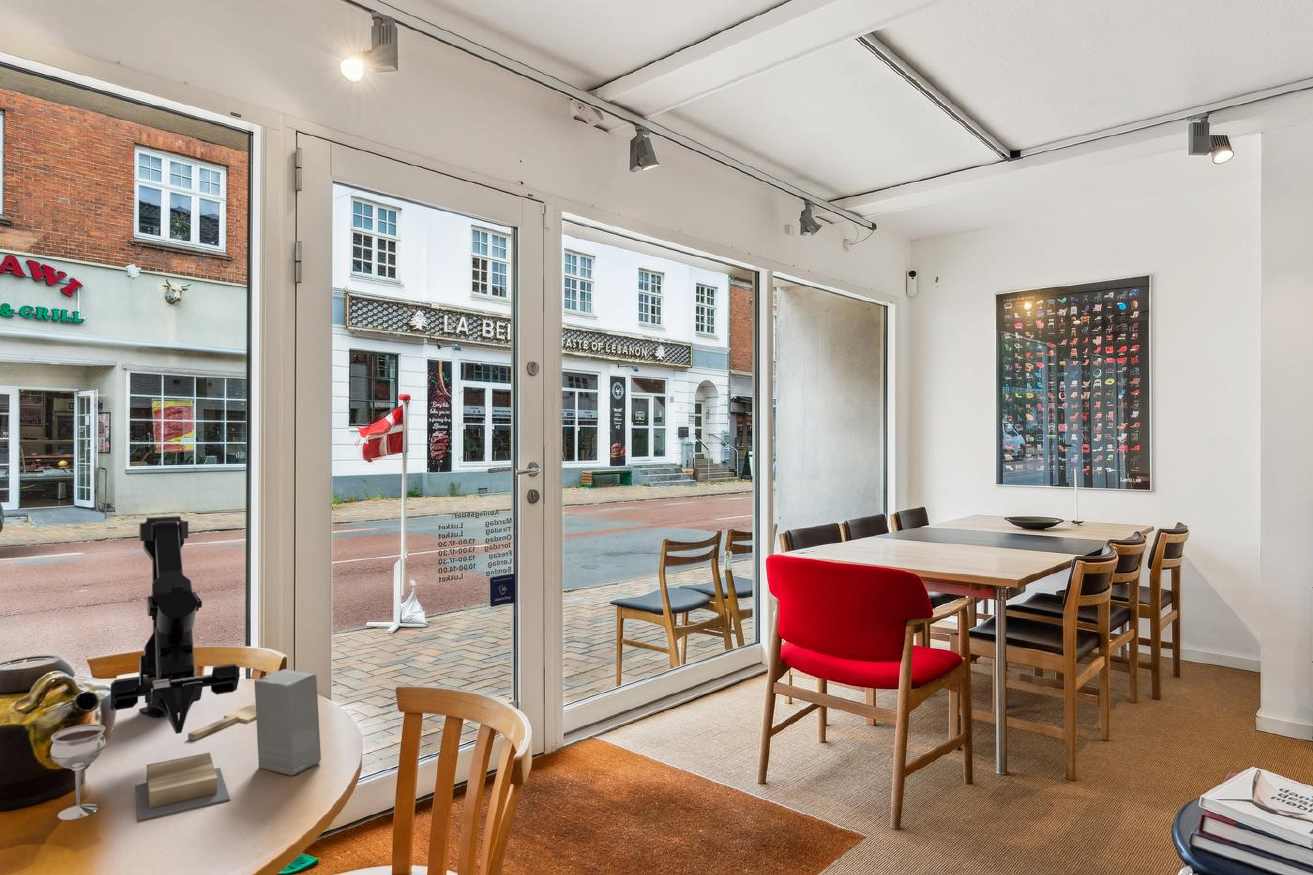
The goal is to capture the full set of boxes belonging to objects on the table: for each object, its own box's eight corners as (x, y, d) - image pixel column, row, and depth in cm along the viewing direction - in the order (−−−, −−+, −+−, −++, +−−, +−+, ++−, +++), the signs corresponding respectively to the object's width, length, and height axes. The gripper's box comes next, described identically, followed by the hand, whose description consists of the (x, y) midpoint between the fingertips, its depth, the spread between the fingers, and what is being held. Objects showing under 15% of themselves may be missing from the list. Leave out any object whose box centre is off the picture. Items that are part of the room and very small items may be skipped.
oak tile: (146, 764, 128) (149, 791, 119) (209, 752, 133) (217, 777, 124) (146, 780, 128) (149, 809, 119) (209, 768, 134) (217, 794, 125)
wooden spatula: (203, 741, 144) (204, 736, 144) (178, 737, 146) (179, 731, 146) (278, 709, 162) (278, 704, 162) (255, 705, 163) (255, 700, 163)
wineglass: (44, 826, 114) (45, 745, 114) (55, 806, 120) (55, 728, 120) (101, 817, 117) (102, 737, 117) (108, 797, 123) (109, 721, 123)
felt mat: (135, 786, 127) (135, 784, 127) (219, 769, 134) (219, 767, 134) (138, 821, 116) (138, 819, 116) (229, 800, 123) (229, 798, 123)
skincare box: (321, 763, 137) (323, 673, 137) (287, 779, 131) (288, 685, 130) (287, 753, 141) (288, 665, 140) (251, 769, 134) (253, 677, 134)
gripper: (229, 665, 149) (236, 742, 141) (109, 681, 139) (109, 766, 130) (236, 633, 143) (244, 712, 134) (111, 648, 132) (110, 735, 123)
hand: (178, 732), depth 130 cm, fingers closed
